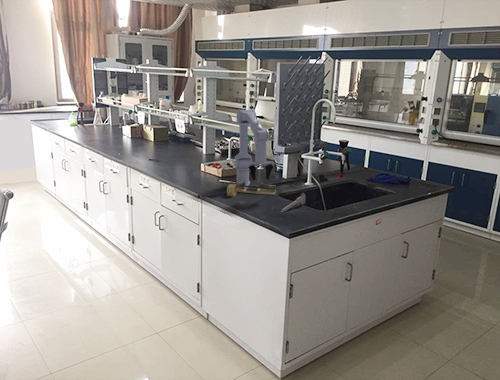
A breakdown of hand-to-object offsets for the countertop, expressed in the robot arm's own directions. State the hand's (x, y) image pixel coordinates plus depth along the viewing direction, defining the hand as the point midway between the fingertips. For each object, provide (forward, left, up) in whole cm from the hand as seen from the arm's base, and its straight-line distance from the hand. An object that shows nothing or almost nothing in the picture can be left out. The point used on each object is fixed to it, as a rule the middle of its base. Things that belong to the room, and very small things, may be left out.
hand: (260, 179), depth 217 cm
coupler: (-3, -16, -10) cm, 19 cm away
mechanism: (-12, -6, -10) cm, 17 cm away
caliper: (+12, +18, -11) cm, 24 cm away
